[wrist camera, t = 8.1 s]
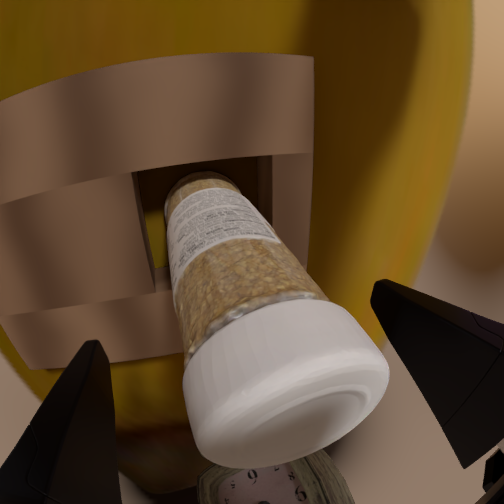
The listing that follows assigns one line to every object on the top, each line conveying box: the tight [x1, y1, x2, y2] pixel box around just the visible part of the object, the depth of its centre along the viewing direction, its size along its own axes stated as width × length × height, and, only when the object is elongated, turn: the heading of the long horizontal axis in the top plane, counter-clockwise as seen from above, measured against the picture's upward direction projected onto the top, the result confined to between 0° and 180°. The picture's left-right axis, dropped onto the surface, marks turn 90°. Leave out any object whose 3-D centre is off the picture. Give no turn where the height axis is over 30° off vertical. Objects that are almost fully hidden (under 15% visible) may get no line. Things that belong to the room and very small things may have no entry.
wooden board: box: [0, 53, 314, 370], centre depth 14 cm, size 20×17×2 cm
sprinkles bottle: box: [164, 171, 389, 469], centre depth 11 cm, size 5×5×13 cm
